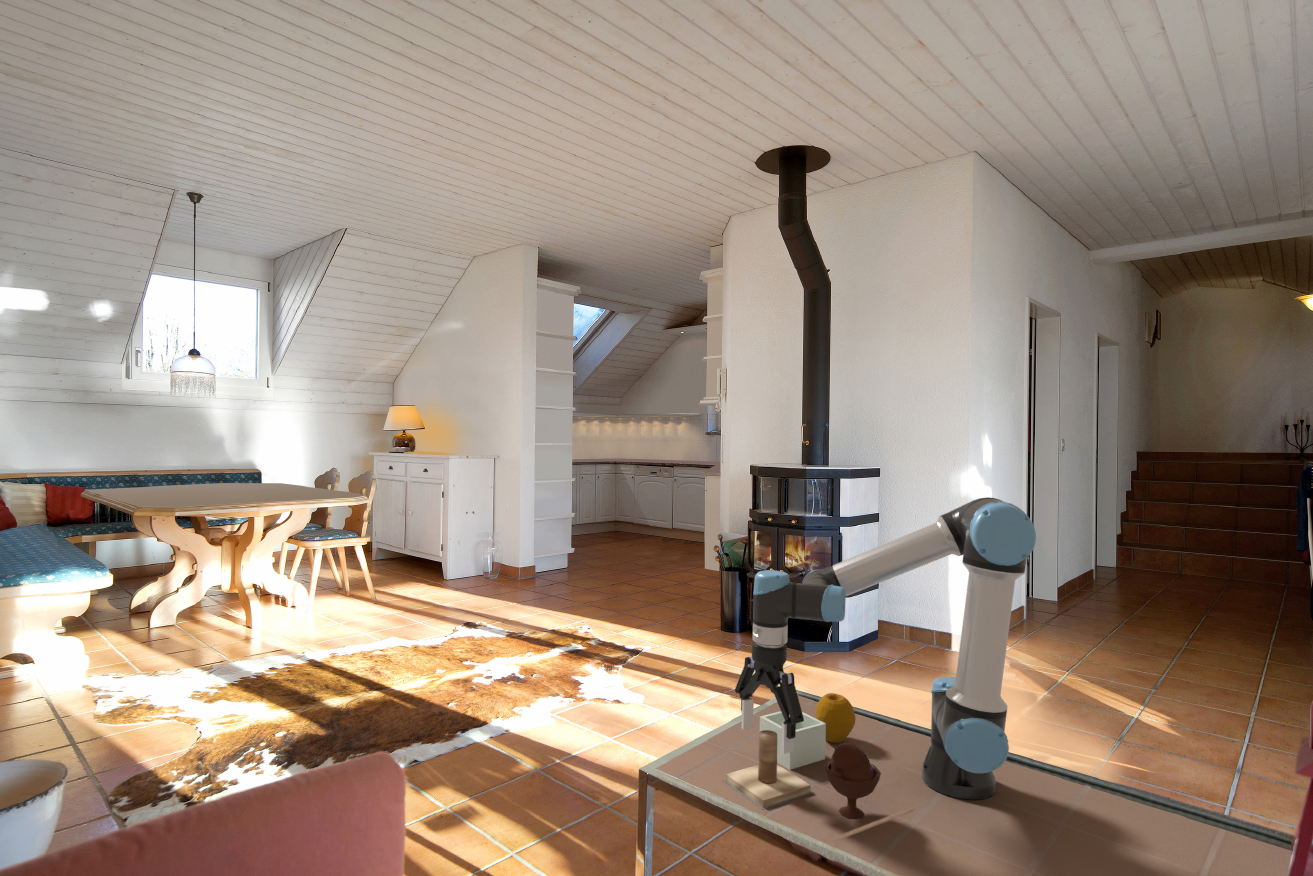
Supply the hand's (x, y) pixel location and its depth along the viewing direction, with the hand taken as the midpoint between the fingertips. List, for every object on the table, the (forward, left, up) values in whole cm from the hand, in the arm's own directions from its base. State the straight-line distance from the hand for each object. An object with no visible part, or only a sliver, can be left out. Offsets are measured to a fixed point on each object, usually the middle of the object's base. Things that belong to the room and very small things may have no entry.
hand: (766, 739), depth 160 cm
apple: (+11, -31, -11) cm, 35 cm away
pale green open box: (+9, -15, -11) cm, 21 cm away
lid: (0, 0, -10) cm, 10 cm away
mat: (0, 0, -11) cm, 11 cm away
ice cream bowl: (-17, -8, -11) cm, 22 cm away
